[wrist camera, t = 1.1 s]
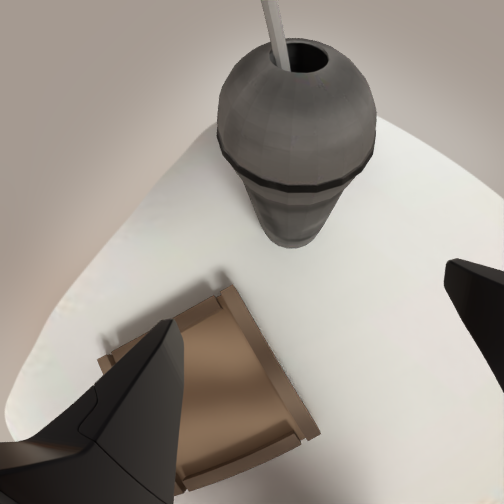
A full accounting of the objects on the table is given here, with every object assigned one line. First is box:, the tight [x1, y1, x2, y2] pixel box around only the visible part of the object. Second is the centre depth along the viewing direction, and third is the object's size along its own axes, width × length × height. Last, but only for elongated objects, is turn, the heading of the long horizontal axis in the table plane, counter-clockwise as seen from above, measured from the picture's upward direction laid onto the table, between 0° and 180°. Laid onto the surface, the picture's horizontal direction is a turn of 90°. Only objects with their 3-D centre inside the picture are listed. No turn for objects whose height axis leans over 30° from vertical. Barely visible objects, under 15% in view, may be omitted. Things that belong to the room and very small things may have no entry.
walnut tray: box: [97, 285, 321, 496], centre depth 20 cm, size 12×12×2 cm
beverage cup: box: [217, 0, 376, 248], centre depth 14 cm, size 7×7×20 cm
